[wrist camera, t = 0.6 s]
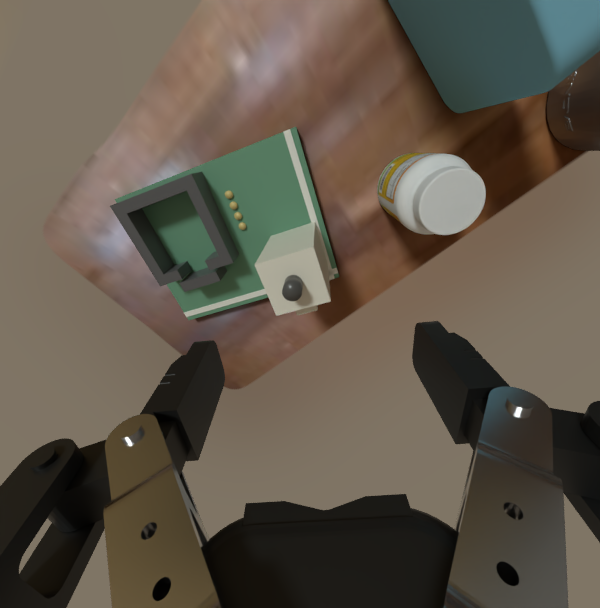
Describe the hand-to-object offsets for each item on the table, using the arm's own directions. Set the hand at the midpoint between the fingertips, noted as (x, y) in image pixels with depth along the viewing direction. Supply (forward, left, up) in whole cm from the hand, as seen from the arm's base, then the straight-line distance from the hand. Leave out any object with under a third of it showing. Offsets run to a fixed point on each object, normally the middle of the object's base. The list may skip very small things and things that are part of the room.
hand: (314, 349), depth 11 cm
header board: (+8, -2, -19) cm, 21 cm away
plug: (+2, +1, -18) cm, 18 cm away
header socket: (+11, -4, -18) cm, 21 cm away
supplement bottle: (-9, -1, -19) cm, 21 cm away
